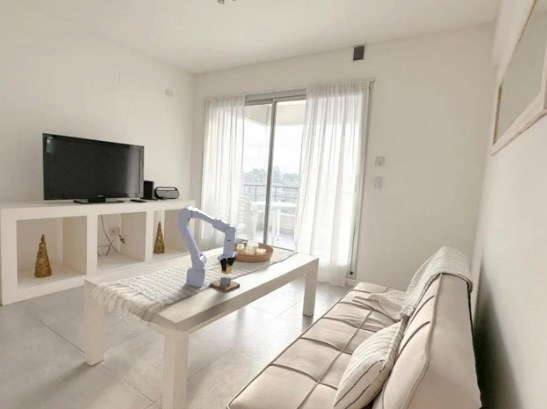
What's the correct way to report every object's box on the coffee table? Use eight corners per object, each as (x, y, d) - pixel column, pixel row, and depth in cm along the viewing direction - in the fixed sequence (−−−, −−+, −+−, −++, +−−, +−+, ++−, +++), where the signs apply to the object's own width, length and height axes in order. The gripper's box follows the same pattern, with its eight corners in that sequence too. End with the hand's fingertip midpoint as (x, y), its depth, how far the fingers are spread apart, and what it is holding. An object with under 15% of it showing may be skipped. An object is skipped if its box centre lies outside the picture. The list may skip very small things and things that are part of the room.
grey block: (225, 285, 168) (226, 278, 167) (220, 283, 170) (220, 276, 169) (230, 283, 171) (231, 277, 170) (225, 281, 173) (225, 274, 172)
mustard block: (226, 274, 167) (227, 267, 166) (221, 272, 169) (221, 265, 168) (231, 272, 170) (232, 266, 170) (226, 270, 172) (226, 264, 172)
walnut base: (225, 292, 162) (225, 290, 162) (209, 285, 169) (209, 283, 169) (239, 286, 172) (240, 284, 172) (224, 280, 179) (224, 277, 179)
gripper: (225, 250, 159) (222, 275, 161) (242, 246, 171) (240, 269, 173) (215, 247, 163) (213, 271, 165) (233, 243, 175) (231, 265, 177)
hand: (226, 270), depth 169 cm, fingers closed on mustard block, 4 cm apart
